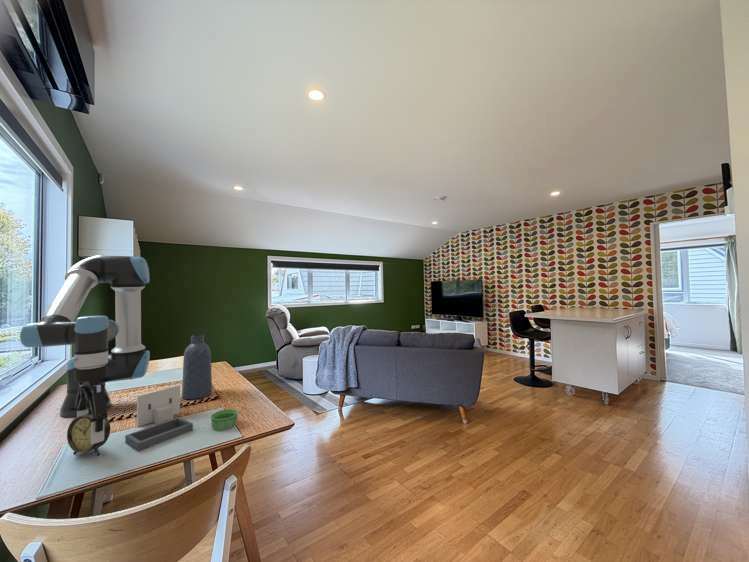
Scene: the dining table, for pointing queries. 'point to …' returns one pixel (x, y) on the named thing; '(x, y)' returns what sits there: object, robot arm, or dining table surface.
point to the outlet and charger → (158, 405)
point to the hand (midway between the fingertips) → (90, 436)
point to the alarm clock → (85, 434)
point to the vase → (197, 369)
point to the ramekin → (224, 419)
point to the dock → (158, 433)
